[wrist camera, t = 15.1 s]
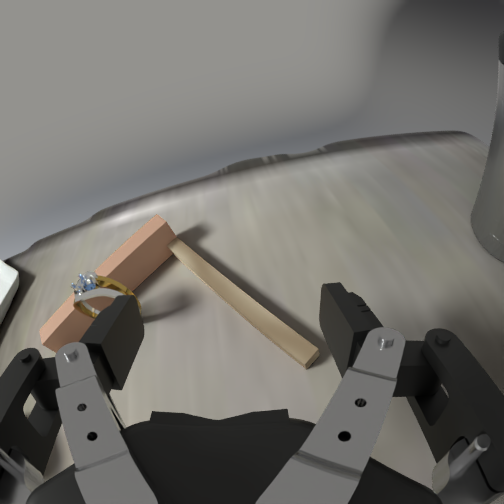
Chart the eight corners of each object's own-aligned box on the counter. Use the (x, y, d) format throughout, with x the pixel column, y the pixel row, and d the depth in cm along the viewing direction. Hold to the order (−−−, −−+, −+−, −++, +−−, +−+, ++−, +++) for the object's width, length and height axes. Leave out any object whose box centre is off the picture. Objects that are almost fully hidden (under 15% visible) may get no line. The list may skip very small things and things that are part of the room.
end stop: (172, 236, 33) (156, 214, 30) (182, 245, 32) (166, 221, 29) (61, 344, 27) (39, 330, 24) (66, 358, 26) (42, 344, 23)
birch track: (182, 245, 32) (176, 236, 31) (319, 354, 20) (318, 348, 19) (66, 358, 26) (57, 353, 25) (143, 507, 14) (132, 508, 13)
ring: (157, 307, 27) (109, 261, 21) (152, 335, 25) (98, 293, 19) (110, 311, 29) (63, 271, 23) (103, 336, 27) (52, 299, 21)
